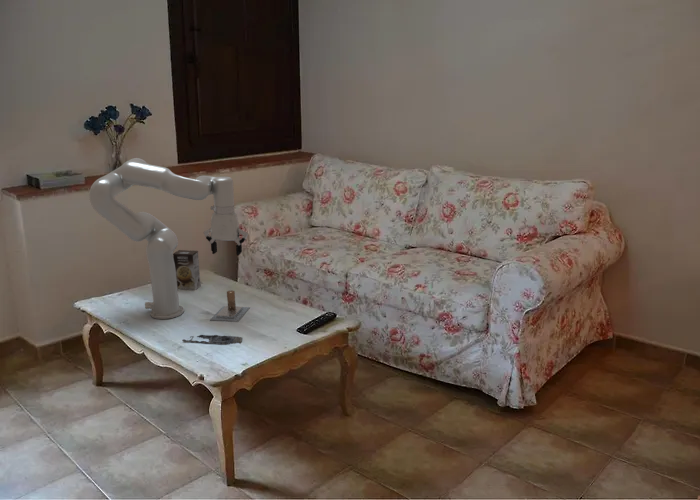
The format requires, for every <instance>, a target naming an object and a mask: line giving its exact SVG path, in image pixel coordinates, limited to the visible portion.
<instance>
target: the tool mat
mask: <svg viewBox="0 0 700 500" xmlns="http://www.w3.org/2000/svg"><path fill="white" fill-rule="evenodd" d="M225 306H226V305H223V306H222V307H221V308H220V309H218V311H217V312H216V313H215V314H214V315H213V316H212V317H211V318H210V319H209V320H210V321H211V322H212V321H213V322H233V323H234V322H235V323H238V322H239V321H240V320H241V319H242V318H243V316H244V315H246V313H247V312H248V311H249V309H250V308H251V307H249V306H248V307H247V306H242V307H243V309H242V311H241V312H240V313H239V314H238V315H237V316H236V317H235V318H234V319H229V318H216V315H217V314H218V313H219V312H220V311H221V310H222V309H223V308H224V307H225ZM210 321H209V322H210Z"/></svg>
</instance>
